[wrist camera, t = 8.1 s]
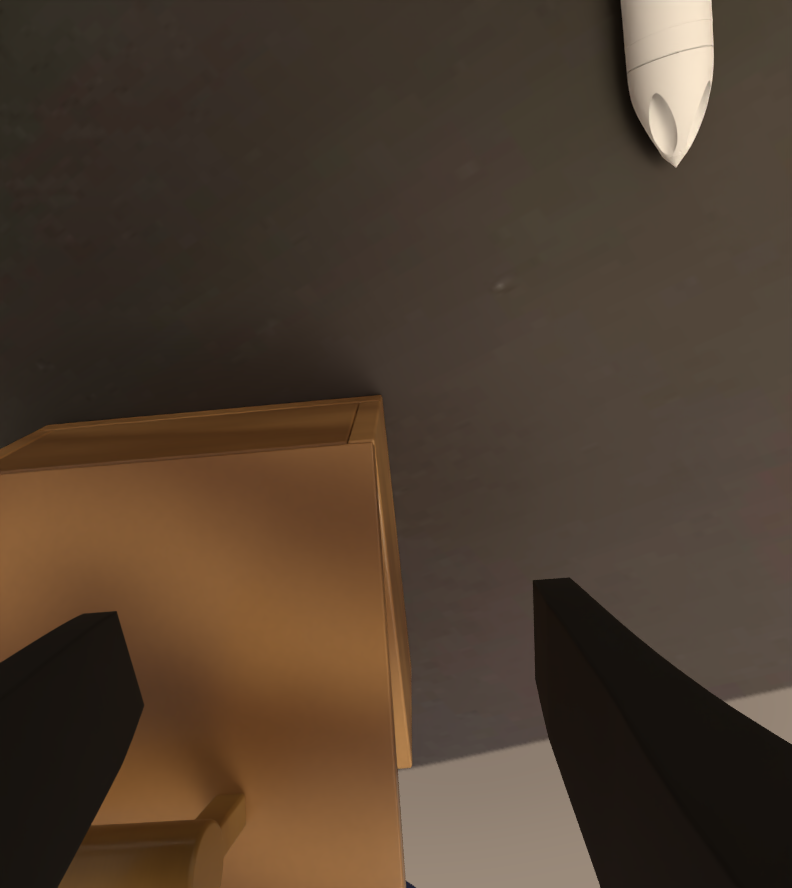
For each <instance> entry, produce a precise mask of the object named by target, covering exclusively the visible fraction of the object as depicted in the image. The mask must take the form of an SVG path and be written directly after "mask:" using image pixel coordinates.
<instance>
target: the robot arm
mask: <svg viewBox="0 0 792 888" xmlns="http://www.w3.org/2000/svg"><path fill="white" fill-rule="evenodd" d="M533 603H534V643H535V680H536V685H537V689H538V694H539V698H540V703H541V707H542V712H543V716H544V720H545V724H546V729H547V733H548V737H549V740H550V743H551V746H552V749H553V752H554V755H555V758H556V761H557V764H558V767H559V769H560V772H561V775H562V778H563V781H564V784H565V787H566V790H567V793H568V795H569V798H570V801H571V804H572V807H573V810H574V813H575V815H576V818H577V821H578V824H579V827H580V830H581V832H582V835H583V838H584V841H585V844H586V847H587V849H588V852H589V855H590V858H591V861H592V864H593V867H594V869H595V872H596V875H597V878H598V881H599V884H600V887H601V888H792V744H790V743H788V742H787V741H785V740H784V739H782V738H780V737H779V736H777V735H775V734H774V733H772V732H771V731H769V730H767V729H766V728H764V727H762V726H761V725H759V724H758V723H756V722H754V721H753V720H752V719H750V718H748V717H747V716H745V715H743V714H742V713H740V712H739V711H737V710H736V709H734V708H733V707H731V706H730V705H728V704H727V703H725V702H724V701H722V700H721V699H719V698H718V697H716V696H715V695H713V694H712V693H710V692H709V691H708V690H706V689H705V688H703V687H702V686H701V685H699V684H698V683H697V682H695V681H694V680H692V679H691V678H690V677H688V676H687V675H686V674H684V673H683V672H681V671H680V670H679V669H677V668H676V667H675V666H673V665H672V664H671V663H669V662H668V661H667V660H666V659H664V658H663V657H662V656H660V655H659V654H658V653H657V652H655V651H654V650H653V649H652V648H650V647H649V646H648V645H647V644H646V643H644V642H643V641H642V640H641V639H639V638H638V637H637V636H636V635H634V634H633V633H632V632H631V631H630V630H629V629H627V628H626V627H625V626H624V625H623V624H622V623H620V622H619V621H618V620H617V619H616V618H615V617H614V616H612V615H611V614H610V613H609V612H608V611H607V610H606V609H604V608H603V607H602V606H601V605H600V604H599V603H598V602H597V601H596V600H594V599H593V598H592V597H591V596H590V595H589V594H588V593H587V592H585V591H584V590H583V589H582V588H581V587H580V586H579V585H578V584H576V583H575V582H574V581H573V580H572V579H571V578H558V579H545V580H533ZM143 708H144V702H143V699H142V695H141V692H140V688H139V685H138V682H137V678H136V675H135V671H134V668H133V665H132V661H131V658H130V655H129V651H128V648H127V644H126V641H125V638H124V634H123V631H122V627H121V624H120V621H119V617H118V614H117V611H110V612H97V613H83V614H81V615H79V616H77V617H75V618H73V619H71V620H69V621H67V622H66V623H64V624H62V625H60V626H59V627H57V628H55V629H54V630H52V631H50V632H49V633H47V634H45V635H44V636H42V637H40V638H39V639H37V640H35V641H34V642H32V643H31V644H29V645H27V646H26V647H24V648H23V649H21V650H19V651H18V652H16V653H15V654H13V655H12V656H10V657H8V658H7V659H5V660H4V661H2V662H1V663H0V888H58V886H59V884H60V882H61V881H62V879H63V877H64V875H65V873H66V871H67V869H68V867H69V866H70V864H71V862H72V860H73V858H74V856H75V854H76V852H77V850H78V849H79V847H80V845H81V843H82V841H83V839H84V837H85V835H86V833H87V832H88V830H89V828H90V826H91V824H92V822H93V820H94V818H95V817H96V815H97V813H98V811H99V809H100V807H101V805H102V803H103V801H104V799H105V797H106V795H107V794H108V792H109V790H110V788H111V786H112V784H113V782H114V780H115V778H116V776H117V774H118V772H119V770H120V768H121V766H122V764H123V762H124V759H125V757H126V754H127V752H128V749H129V747H130V744H131V741H132V739H133V736H134V734H135V731H136V728H137V725H138V722H139V719H140V717H141V714H142V711H143Z"/></svg>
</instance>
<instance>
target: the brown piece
mask: <svg viewBox="0 0 792 888" xmlns="http://www.w3.org/2000/svg"><path fill="white" fill-rule="evenodd" d="M110 611H117V614H118V617H119V621H120V624H121V627H122V631H123V634H124V638H125V641H126V644H127V648H128V651H129V655H130V658H131V661H132V665H133V668H134V671H135V675H136V678H137V682H138V685H139V688H140V692H141V695H142V699H143V702H144V708H143V711H142V714H141V717H140V719H139V722H138V725H137V728H136V731H135V734H134V736H133V739H132V741H131V744H130V747H129V749H128V752H127V754H126V757H125V759H124V762H123V764H122V766H121V768H120V770H119V772H118V774H117V776H116V778H115V780H114V782H113V784H112V786H111V788H110V790H109V792H108V794H107V795H106V797H105V799H104V801H103V803H102V805H101V807H100V809H99V811H98V813H97V815H96V817H95V818H94V820H93V822H92V824H91V826H90V828H89V830H88V832H87V833H86V835H85V837H84V839H83V841H82V843H81V845H80V847H79V849H78V850H77V852H76V854H75V856H74V858H73V860H72V862H71V864H70V866H69V867H68V869H67V871H66V873H65V875H64V877H63V879H62V881H61V882H60V884H59V886H58V888H406V881H405V868H404V853H403V840H402V825H401V810H400V797H399V782H398V768H397V754H396V740H395V725H394V711H393V697H392V683H391V669H390V655H389V641H388V627H387V613H386V598H385V584H384V570H383V556H382V542H381V528H380V514H379V500H378V485H377V471H376V457H375V447H374V445H373V443H372V442H363V443H351V444H340V445H328V446H317V447H305V448H294V449H282V450H271V451H259V452H248V453H236V454H225V455H213V456H201V457H190V458H178V459H167V460H155V461H144V462H132V463H121V464H109V465H98V466H86V467H75V468H63V469H52V470H40V471H29V472H17V473H6V474H0V663H1V662H2V661H4V660H5V659H7V658H8V657H10V656H12V655H13V654H15V653H16V652H18V651H19V650H21V649H23V648H24V647H26V646H27V645H29V644H31V643H32V642H34V641H35V640H37V639H39V638H40V637H42V636H44V635H45V634H47V633H49V632H50V631H52V630H54V629H55V628H57V627H59V626H60V625H62V624H64V623H66V622H67V621H69V620H71V619H73V618H75V617H77V616H79V615H81V614H83V613H97V612H110Z"/></svg>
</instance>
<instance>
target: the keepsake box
mask: <svg viewBox="0 0 792 888" xmlns="http://www.w3.org/2000/svg"><path fill="white" fill-rule="evenodd" d="M363 442H372V443H373V445H374V447H375V457H376V471H377V485H378V500H379V514H380V528H381V542H382V556H383V570H384V584H385V598H386V613H387V627H388V641H389V655H390V669H391V683H392V697H393V711H394V725H395V740H396V754H397V768H398V769H401V768H411V766H412V704H411V660H410V651H409V642H408V632H407V623H406V614H405V605H404V595H403V586H402V577H401V567H400V558H399V549H398V540H397V530H396V521H395V512H394V503H393V493H392V484H391V475H390V466H389V456H388V447H387V438H386V428H385V419H384V410H383V401H382V396H381V395H373V396H362V397H351V398H340V399H329V400H318V401H307V402H296V403H285V404H274V405H263V406H252V407H241V408H230V409H219V410H208V411H197V412H186V413H175V414H164V415H153V416H142V417H131V418H120V419H109V420H98V421H86V422H75V423H64V424H53V425H47V426H45V427H43V428H41V429H39V430H37V431H35V432H33V433H31V434H29V435H27V436H25V437H23V438H21V439H19V440H17V441H15V442H13V443H11V444H10V445H8V446H6V447H4V448H2V449H0V474H6V473H17V472H29V471H40V470H52V469H63V468H75V467H86V466H98V465H109V464H121V463H132V462H144V461H155V460H167V459H178V458H190V457H201V456H213V455H225V454H236V453H248V452H259V451H271V450H282V449H294V448H305V447H317V446H328V445H340V444H351V443H363Z"/></svg>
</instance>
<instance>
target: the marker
mask: <svg viewBox="0 0 792 888" xmlns="http://www.w3.org/2000/svg"><path fill="white" fill-rule="evenodd" d="M621 11H622V23H623V34H624V46H625V47H624V51H625V58H626V70H627V80H628V87H629V93H630V98H631V102H632V105H633V108H634V110H635V112H636V115H637V117H638V119H639V120H640V122H641V124H642V126H643V127H644V129H645V131H646V132H647V134H648V136H649V137H650V139H651V140H652V142H653V143H654V145H655V146H656V148H657V149H658V151H659V153H660V154H661V156H662V157H663V158H665V160H666V161H668V162H669V163H671V164H672V165H673V166H674V167H677V165H678V164H679V163H680V161H681V160H682V158H683V157H684V156H685V154H686V153H687V151H688V150H689V148H690V146H691V145H692V143H693V141H694V139H695V137H696V134H697V132H698V130H699V128H700V125H701V122H702V120H703V117H704V114H705V111H706V108H707V104H708V100H709V95H710V90H711V85H712V77H713V64H714V48H713V24H712V23H713V18H712V3H711V0H621ZM677 52H679V53H677ZM674 53H675V54H674ZM670 54H672V55H670ZM667 55H669V56H667ZM664 56H666V57H664ZM661 57H663V58H661ZM659 58H660V59H659ZM656 59H657V60H656ZM653 60H655V61H653ZM651 61H652V62H651ZM648 62H650V63H648ZM646 63H647V64H646ZM644 64H645V65H644ZM641 65H642V66H641ZM639 66H640V67H639ZM637 67H638V68H637ZM635 68H636V69H635Z"/></svg>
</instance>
